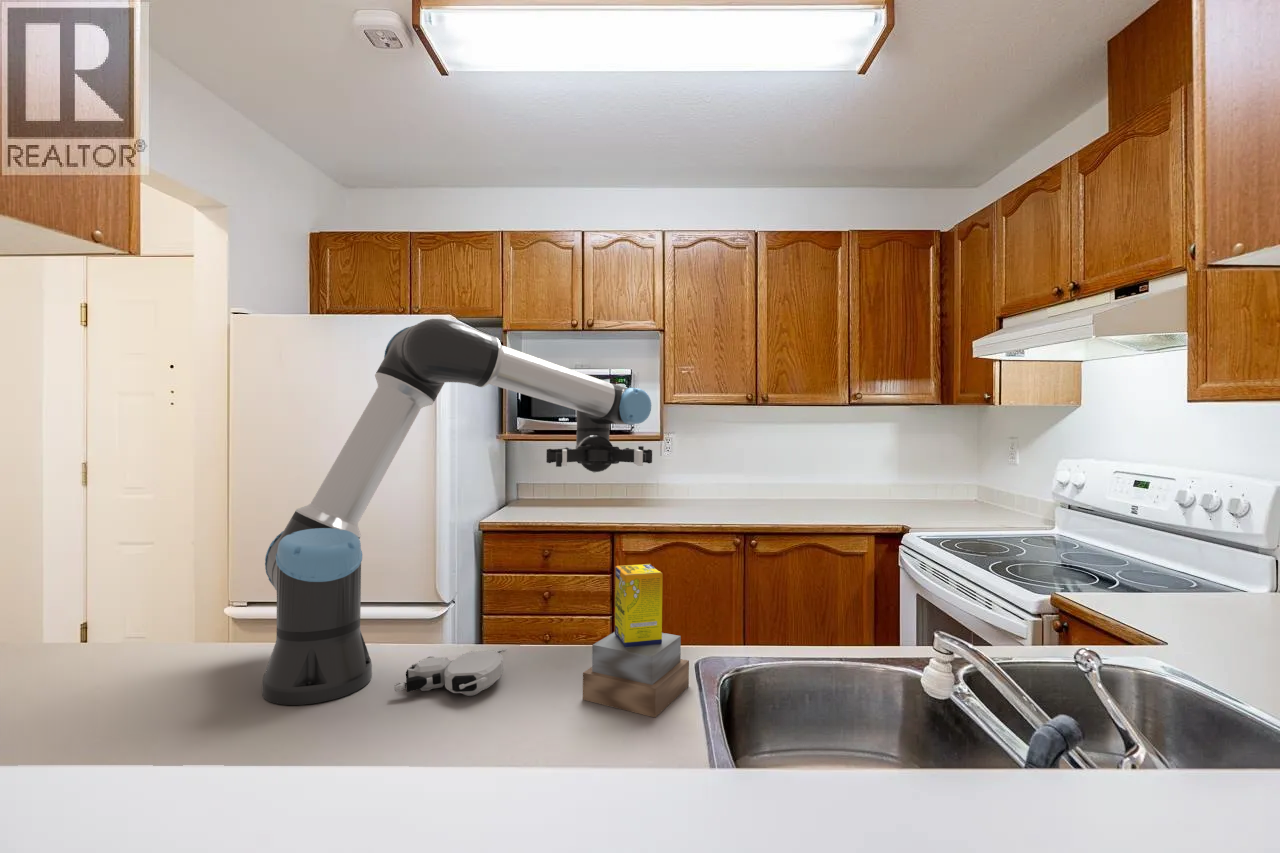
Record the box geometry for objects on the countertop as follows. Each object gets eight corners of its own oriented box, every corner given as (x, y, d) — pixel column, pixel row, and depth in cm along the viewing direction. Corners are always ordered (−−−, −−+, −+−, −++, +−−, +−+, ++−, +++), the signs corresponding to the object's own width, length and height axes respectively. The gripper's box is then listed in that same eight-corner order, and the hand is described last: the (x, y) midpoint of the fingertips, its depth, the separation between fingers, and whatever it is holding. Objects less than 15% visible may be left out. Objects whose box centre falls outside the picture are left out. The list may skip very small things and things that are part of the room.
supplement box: (613, 635, 97) (614, 565, 97) (650, 632, 98) (650, 563, 98) (624, 648, 91) (624, 574, 91) (662, 644, 93) (663, 571, 93)
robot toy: (389, 709, 90) (491, 704, 90) (387, 678, 90) (489, 673, 90) (422, 676, 103) (511, 671, 102) (420, 649, 103) (510, 644, 102)
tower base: (582, 699, 92) (583, 645, 92) (621, 671, 103) (622, 623, 103) (655, 717, 86) (655, 660, 86) (688, 686, 97) (689, 635, 97)
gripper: (653, 470, 133) (671, 479, 112) (535, 470, 130) (532, 479, 109) (653, 436, 133) (671, 437, 112) (536, 435, 130) (532, 436, 109)
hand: (603, 458), depth 111 cm, fingers open, 13 cm apart
